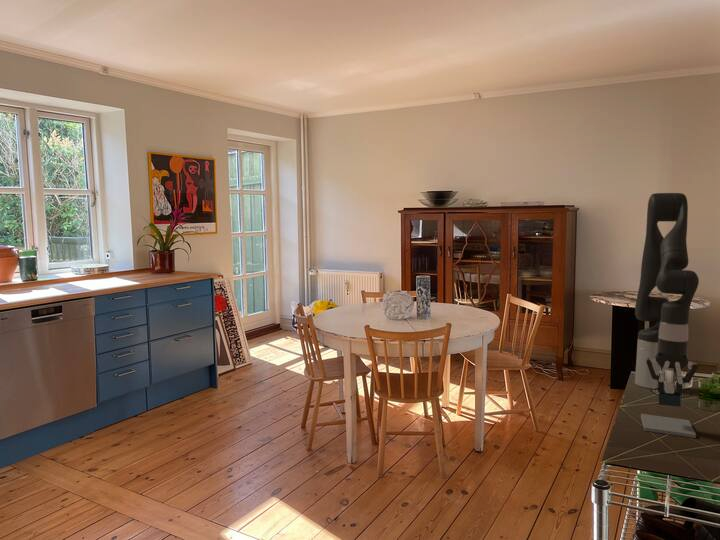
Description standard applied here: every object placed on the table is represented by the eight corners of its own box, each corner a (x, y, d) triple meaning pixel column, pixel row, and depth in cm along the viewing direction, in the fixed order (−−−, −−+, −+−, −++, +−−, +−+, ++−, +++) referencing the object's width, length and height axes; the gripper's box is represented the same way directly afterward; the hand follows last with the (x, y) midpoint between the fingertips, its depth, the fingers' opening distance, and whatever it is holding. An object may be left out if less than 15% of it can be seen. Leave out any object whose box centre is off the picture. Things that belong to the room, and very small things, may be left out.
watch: (681, 400, 163) (680, 364, 162) (680, 408, 156) (679, 371, 155) (659, 398, 166) (659, 363, 165) (658, 406, 159) (657, 369, 158)
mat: (640, 416, 170) (640, 413, 170) (688, 423, 165) (688, 420, 165) (644, 430, 159) (644, 427, 159) (695, 438, 154) (696, 434, 154)
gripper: (698, 337, 160) (694, 393, 161) (644, 332, 165) (641, 387, 167) (703, 342, 153) (699, 402, 155) (647, 337, 158) (643, 395, 160)
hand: (669, 394), depth 161 cm, fingers closed on watch, 3 cm apart
